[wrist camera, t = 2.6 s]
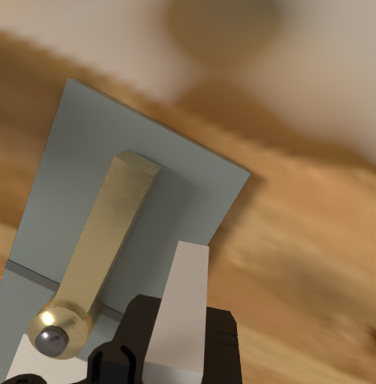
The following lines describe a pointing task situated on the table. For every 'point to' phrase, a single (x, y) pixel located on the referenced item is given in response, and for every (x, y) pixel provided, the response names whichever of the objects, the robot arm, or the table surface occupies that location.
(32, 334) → the latch bar
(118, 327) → the robot arm
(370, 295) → the table surface
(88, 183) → the door board
